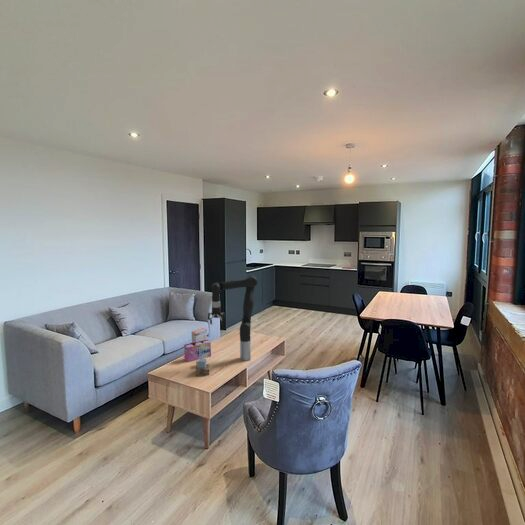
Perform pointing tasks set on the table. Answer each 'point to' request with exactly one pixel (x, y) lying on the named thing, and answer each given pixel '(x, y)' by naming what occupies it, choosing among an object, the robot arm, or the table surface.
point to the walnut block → (202, 371)
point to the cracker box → (199, 335)
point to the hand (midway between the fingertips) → (216, 324)
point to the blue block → (202, 363)
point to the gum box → (197, 350)
